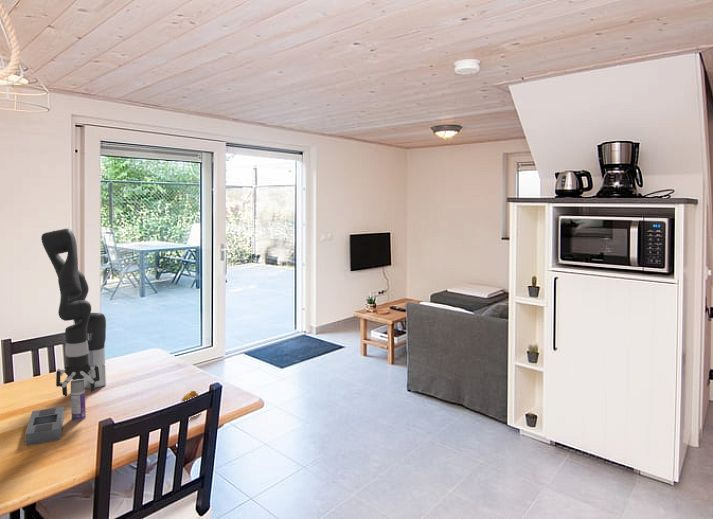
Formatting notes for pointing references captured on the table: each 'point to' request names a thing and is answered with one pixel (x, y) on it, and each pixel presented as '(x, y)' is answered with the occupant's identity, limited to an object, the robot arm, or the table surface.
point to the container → (78, 400)
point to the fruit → (189, 395)
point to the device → (45, 426)
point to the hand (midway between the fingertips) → (79, 393)
